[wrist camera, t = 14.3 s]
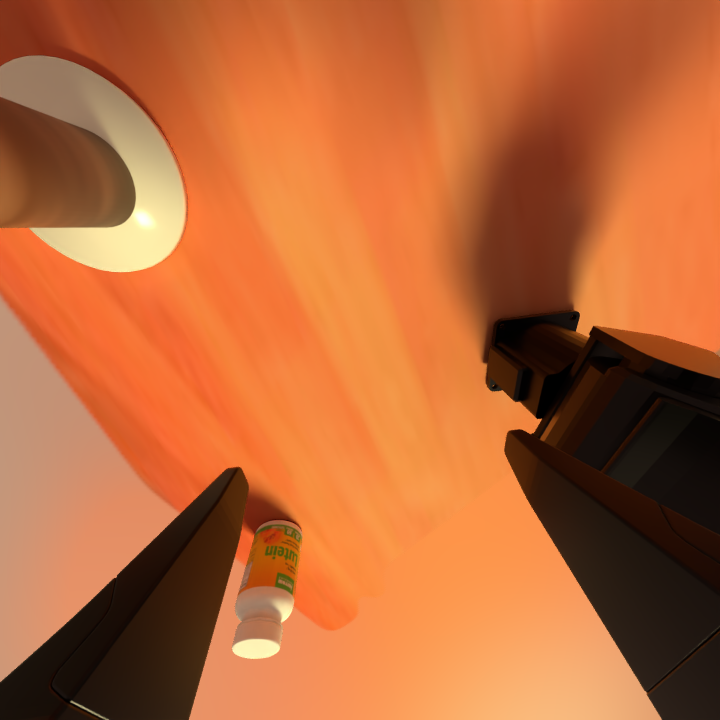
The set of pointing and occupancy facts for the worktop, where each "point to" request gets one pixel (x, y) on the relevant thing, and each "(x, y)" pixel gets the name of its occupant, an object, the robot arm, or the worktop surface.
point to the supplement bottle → (267, 589)
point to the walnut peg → (59, 174)
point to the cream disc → (129, 139)
